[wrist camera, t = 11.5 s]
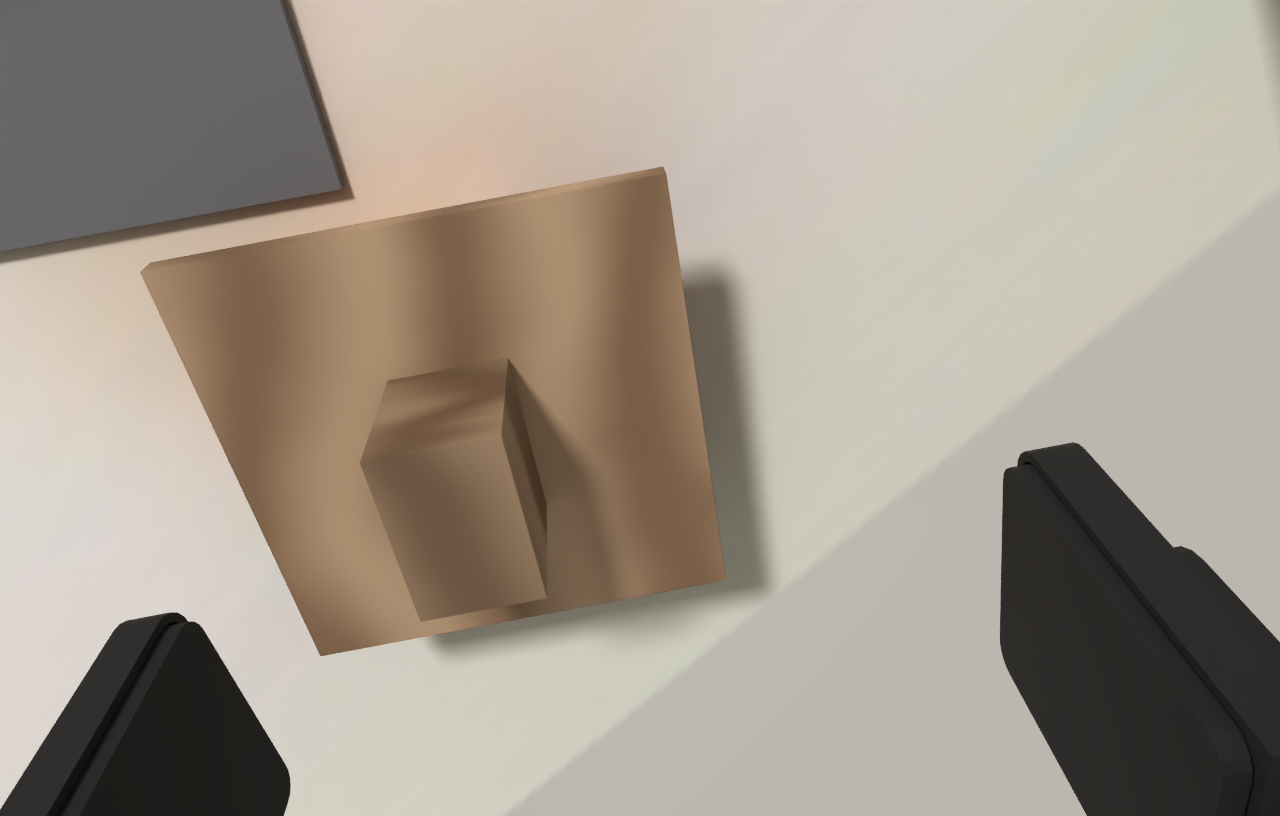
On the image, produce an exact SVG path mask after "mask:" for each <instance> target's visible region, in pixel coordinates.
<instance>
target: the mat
mask: <svg viewBox="0 0 1280 816" xmlns="http://www.w3.org/2000/svg"><path fill="white" fill-rule="evenodd" d="M343 187H344V183H343V180H342V177H341V174H340V170H339V167H338V164H337V161H336V158H335V155H334V152H333V149H332V146H331V143H330V140H329V137H328V134H327V131H326V128H325V125H324V121H323V118H322V115H321V112H320V109H319V106H318V103H317V100H316V97H315V94H314V91H313V88H312V85H311V82H310V79H309V75H308V72H307V69H306V66H305V63H304V60H303V57H302V54H301V51H300V48H299V45H298V42H297V39H296V36H295V33H294V30H293V26H292V23H291V20H290V17H289V14H288V11H287V8H286V5H285V2H284V0H0V252H1V251H7V250H12V249H18V248H23V247H29V246H34V245H39V244H45V243H50V242H56V241H61V240H67V239H72V238H78V237H83V236H89V235H94V234H100V233H105V232H111V231H116V230H122V229H127V228H132V227H138V226H143V225H149V224H154V223H160V222H165V221H171V220H176V219H182V218H187V217H193V216H198V215H204V214H209V213H215V212H220V211H225V210H231V209H236V208H242V207H247V206H253V205H258V204H264V203H269V202H275V201H280V200H286V199H291V198H297V197H302V196H308V195H313V194H318V193H324V192H329V191H335V190H340V189H342V188H343Z"/></svg>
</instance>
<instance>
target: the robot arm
mask: <svg viewBox="0 0 1280 816" xmlns="http://www.w3.org/2000/svg"><path fill="white" fill-rule="evenodd" d="M1000 645H1001V650H1002V655H1003V658H1004V661H1005V664H1006V667H1007V669H1008V671H1009V673H1010V675H1011V677H1012V679H1013V681H1014V683H1015V684H1016V686H1017V688H1018V690H1019V692H1020V694H1021V695H1022V697H1023V699H1024V701H1025V703H1026V705H1027V706H1028V708H1029V710H1030V712H1031V714H1032V715H1033V717H1034V719H1035V721H1036V723H1037V725H1038V727H1039V728H1040V730H1041V732H1042V734H1043V736H1044V737H1045V739H1046V741H1047V743H1048V745H1049V747H1050V748H1051V750H1052V752H1053V754H1054V756H1055V758H1056V760H1057V761H1058V763H1059V765H1060V767H1061V769H1062V770H1063V772H1064V774H1065V776H1066V778H1067V779H1068V782H1069V783H1070V785H1071V787H1072V789H1073V791H1074V793H1075V794H1076V796H1077V798H1078V800H1079V802H1080V803H1081V805H1082V807H1083V809H1084V811H1085V813H1086V815H1087V816H1280V642H1279V641H1278V640H1277V639H1276V638H1275V637H1274V636H1273V634H1272V633H1271V632H1270V631H1269V630H1268V629H1267V628H1266V627H1265V626H1264V625H1263V624H1262V623H1261V621H1260V620H1259V619H1258V618H1257V617H1256V616H1255V615H1254V614H1253V613H1252V612H1251V611H1250V610H1249V608H1248V607H1247V606H1246V605H1245V604H1244V603H1243V602H1242V601H1241V600H1240V599H1239V598H1238V597H1237V596H1236V594H1235V593H1234V592H1233V591H1232V590H1231V589H1230V588H1229V587H1228V586H1227V585H1226V584H1225V583H1224V582H1223V580H1222V579H1221V578H1220V577H1219V576H1218V575H1217V574H1216V573H1215V572H1214V571H1213V570H1212V569H1211V568H1210V566H1209V565H1208V564H1207V563H1206V562H1205V561H1204V560H1203V559H1202V558H1200V557H1199V556H1198V555H1197V554H1196V553H1194V552H1193V551H1192V550H1189V549H1187V548H1184V547H1182V546H1180V547H1174V548H1173V547H1172V546H1171V544H1170V543H1169V542H1168V541H1167V540H1166V539H1165V538H1164V537H1163V536H1162V534H1161V533H1160V532H1159V531H1158V530H1157V529H1156V528H1155V527H1154V526H1153V525H1152V523H1151V522H1150V521H1149V520H1148V519H1147V518H1146V517H1145V516H1144V514H1143V513H1142V512H1141V511H1140V510H1139V509H1138V508H1137V507H1136V506H1135V505H1134V503H1133V502H1132V501H1131V500H1130V499H1129V498H1128V497H1127V496H1126V495H1125V493H1124V492H1123V491H1122V490H1121V489H1120V488H1119V487H1118V486H1117V485H1116V483H1115V482H1114V481H1113V480H1112V479H1111V478H1110V477H1109V476H1108V475H1107V473H1106V472H1105V471H1104V470H1103V469H1102V468H1101V467H1100V466H1099V465H1098V463H1096V461H1095V460H1094V459H1093V458H1092V457H1091V456H1090V455H1089V453H1088V452H1087V451H1086V450H1085V449H1084V448H1083V447H1081V446H1080V445H1079V444H1077V443H1068V444H1063V445H1058V446H1052V447H1047V448H1042V449H1036V450H1031V451H1025V452H1023V453H1022V454H1021V455H1020V457H1019V459H1018V465H1017V467H1012V468H1008V469H1006V470H1005V472H1004V478H1003V514H1002V564H1001V614H1000ZM289 796H290V776H289V772H288V769H287V767H286V765H285V763H284V762H283V760H282V758H281V757H280V755H279V753H278V752H277V750H276V748H275V747H274V745H273V743H272V742H271V740H270V738H269V737H268V735H267V734H266V732H265V730H264V729H263V727H262V725H261V724H260V722H259V720H258V719H257V717H256V715H255V714H254V712H253V710H252V709H251V707H250V706H249V704H248V702H247V701H246V699H245V697H244V696H243V694H242V692H241V691H240V689H239V687H238V686H237V684H236V682H235V681H234V679H233V678H232V676H231V674H230V673H229V671H228V669H227V668H226V666H225V664H224V663H223V661H222V659H221V658H220V656H219V654H218V653H217V651H216V650H215V648H214V646H213V645H212V643H211V641H210V640H209V638H208V636H207V635H206V633H205V631H204V630H203V628H202V627H201V626H200V625H199V624H197V623H196V622H188V621H187V620H186V618H185V617H184V616H182V615H180V614H179V613H165V614H160V615H155V616H149V617H144V618H139V619H134V620H128V621H125V622H123V623H121V624H120V625H119V626H118V627H117V628H116V629H115V630H114V631H113V633H112V635H111V636H110V638H109V639H108V641H107V642H106V644H105V646H104V647H103V649H102V650H101V652H100V653H99V655H98V657H97V658H96V660H95V661H94V663H93V664H92V666H91V668H90V669H89V671H88V672H87V674H86V675H85V677H84V679H83V680H82V682H81V683H80V685H79V687H78V688H77V690H76V691H75V693H74V694H73V696H72V698H71V699H70V701H69V702H68V704H67V705H66V707H65V709H64V710H63V712H62V713H61V715H60V716H59V718H58V720H57V721H56V723H55V724H54V726H53V727H52V729H51V731H50V732H49V734H48V735H47V737H46V739H45V740H44V742H43V743H42V745H41V746H40V748H39V750H38V751H37V753H36V754H35V756H34V757H33V759H32V761H31V762H30V764H29V765H28V767H27V768H26V770H25V772H24V773H23V775H22V776H21V778H20V779H19V781H18V783H17V784H16V786H15V787H14V789H13V790H12V792H11V794H10V795H9V797H8V798H7V800H6V802H5V803H4V805H3V806H2V808H1V809H0V816H284V813H285V810H286V807H287V804H288V800H289Z"/></svg>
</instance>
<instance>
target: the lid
mask: <svg viewBox="0 0 1280 816" xmlns="http://www.w3.org/2000/svg"><path fill="white" fill-rule="evenodd" d="M140 273H141V275H142V277H143V279H144V281H145V284H146V286H147V288H148V290H149V292H150V294H151V296H152V298H153V301H154V303H155V305H156V307H157V309H158V311H159V313H160V315H161V318H162V320H163V322H164V324H165V326H166V328H167V330H168V332H169V335H170V337H171V339H172V341H173V343H174V345H175V347H176V350H177V352H178V354H179V356H180V358H181V360H182V362H183V364H184V367H185V369H186V371H187V373H188V375H189V377H190V379H191V381H192V384H193V386H194V388H195V390H196V392H197V394H198V396H199V398H200V401H201V403H202V405H203V407H204V409H205V411H206V413H207V415H208V418H209V420H210V422H211V424H212V426H213V428H214V430H215V433H216V435H217V437H218V439H219V441H220V443H221V445H222V447H223V450H224V452H225V454H226V456H227V458H228V460H229V462H230V464H231V467H232V469H233V471H234V473H235V475H236V477H237V479H238V481H239V484H240V486H241V488H242V490H243V492H244V494H245V496H246V499H247V501H248V503H249V505H250V507H251V509H252V511H253V513H254V516H255V518H256V520H257V522H258V524H259V526H260V528H261V530H262V533H263V535H264V537H265V539H266V541H267V543H268V545H269V547H270V550H271V552H272V554H273V556H274V558H275V560H276V562H277V564H278V567H279V569H280V571H281V573H282V575H283V577H284V579H285V582H286V584H287V586H288V588H289V590H290V592H291V594H292V596H293V599H294V601H295V603H296V605H297V607H298V609H299V611H300V613H301V616H302V618H303V620H304V622H305V624H306V626H307V628H308V630H309V633H310V635H311V637H312V639H313V641H314V643H315V645H316V648H317V650H318V652H319V654H320V656H324V655H330V654H335V653H340V652H346V651H351V650H356V649H362V648H367V647H372V646H378V645H383V644H388V643H393V642H399V641H404V640H409V639H415V638H420V637H425V636H431V635H436V634H441V633H447V632H452V631H457V630H463V629H468V628H473V627H479V626H484V625H489V624H494V623H500V622H505V621H510V620H516V619H521V618H526V617H532V616H537V615H542V614H548V613H553V612H558V611H564V610H569V609H574V608H580V607H585V606H590V605H596V604H601V603H606V602H611V601H617V600H622V599H627V598H633V597H638V596H643V595H649V594H654V593H659V592H665V591H670V590H675V589H681V588H686V587H691V586H697V585H702V584H707V583H713V582H718V581H723V580H726V575H725V568H724V562H723V555H722V548H721V541H720V534H719V528H718V521H717V514H716V507H715V501H714V494H713V487H712V480H711V474H710V467H709V460H708V453H707V447H706V440H705V433H704V426H703V419H702V413H701V406H700V399H699V392H698V386H697V379H696V372H695V365H694V359H693V352H692V345H691V338H690V332H689V325H688V318H687V311H686V304H685V298H684V291H683V284H682V277H681V271H680V264H679V257H678V250H677V244H676V237H675V230H674V223H673V217H672V210H671V203H670V196H669V189H668V183H667V176H666V172H665V170H664V168H663V167H659V168H653V169H648V170H643V171H637V172H632V173H627V174H621V175H616V176H611V177H605V178H600V179H595V180H589V181H584V182H579V183H573V184H568V185H563V186H557V187H552V188H547V189H541V190H536V191H531V192H525V193H520V194H515V195H509V196H504V197H499V198H493V199H488V200H483V201H477V202H472V203H467V204H462V205H456V206H451V207H446V208H440V209H435V210H430V211H424V212H419V213H414V214H408V215H403V216H398V217H392V218H387V219H382V220H376V221H371V222H366V223H360V224H355V225H350V226H344V227H339V228H334V229H328V230H323V231H318V232H312V233H307V234H302V235H296V236H291V237H286V238H280V239H275V240H270V241H264V242H259V243H254V244H248V245H243V246H238V247H232V248H227V249H222V250H216V251H211V252H206V253H200V254H195V255H190V256H184V257H179V258H174V259H168V260H163V261H158V262H152V263H150V264H149V265H147V266H146V267H145V268H144V269H143V270H142V271H141V272H140Z"/></svg>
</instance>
